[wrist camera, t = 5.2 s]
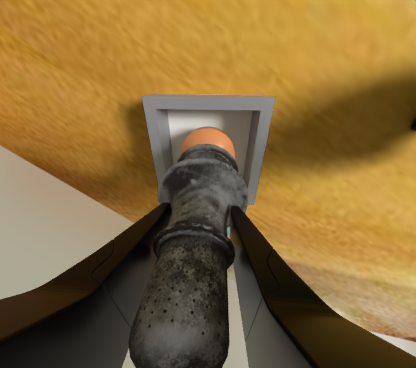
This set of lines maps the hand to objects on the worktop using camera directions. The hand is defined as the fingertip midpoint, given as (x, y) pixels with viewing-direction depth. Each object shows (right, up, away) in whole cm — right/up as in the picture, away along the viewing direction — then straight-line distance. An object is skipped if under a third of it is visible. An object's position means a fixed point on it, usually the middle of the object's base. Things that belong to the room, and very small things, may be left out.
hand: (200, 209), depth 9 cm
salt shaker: (0, +2, +4) cm, 5 cm away
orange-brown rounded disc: (0, +5, +8) cm, 9 cm away
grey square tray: (+1, +6, +10) cm, 12 cm away
